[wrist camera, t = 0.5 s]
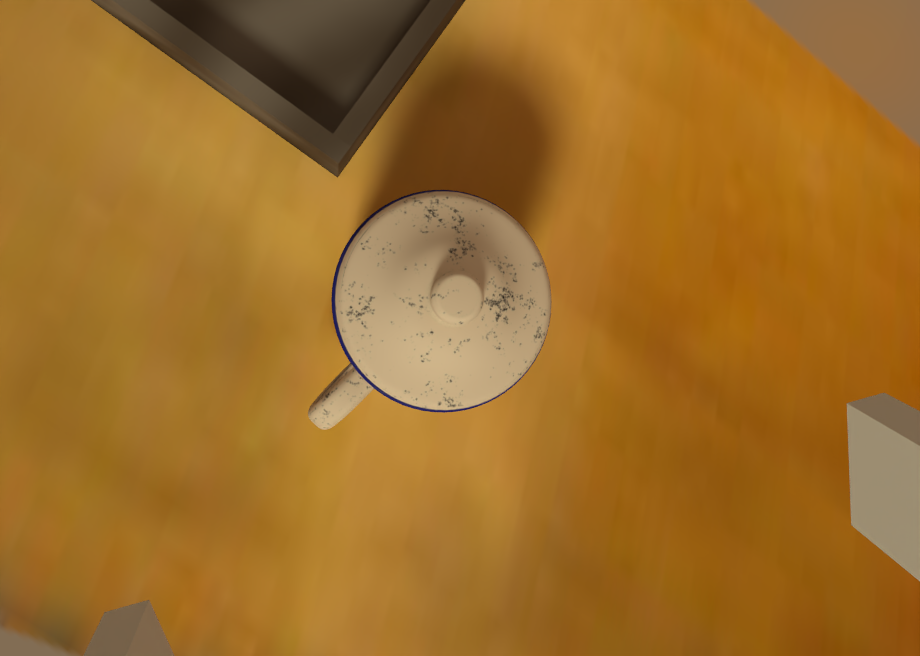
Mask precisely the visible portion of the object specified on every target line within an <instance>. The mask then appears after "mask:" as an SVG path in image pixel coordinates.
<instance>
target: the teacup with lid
mask: <svg viewBox="0 0 920 656" xmlns="http://www.w3.org/2000/svg"><path fill="white" fill-rule="evenodd" d="M332 313H333V320H334V325H335V329H336V333H337V336H338V338H339V341H340V344H341V346H342V348H343V350H344V352H345V354H346V356H347V358H348V359H349V361H350V364H349V365H348V366H347V367H346V368H345V369H344V370H343V371H342V372H341V373H340V374H339V375H338V376H337V377H336V378H335V379H334V380H333V381H332V382H331V383H330V384H329V385H328V386H327V387H326V388H325V390H324V391H323V392H322V393H321V394H320V395H319V396H318V397H317V399H316V400H315V401H314V402H313V404H312V405H311V406H310V408H309V411H308V416H309V418H310V420H311V421H312V422H313V423H314V424H315V425H316V426H317V427H319V428H320V429H329V428H331V427H333V426H335V425H336V424H337V423H338V422H340V421H341V420H342V419H343V418H344V417H345V416H346V415H348V414H349V413H350V412H351V411H352V410H353V409H354V408H355V407H356V406H357V405H358V404H359V403H360V402H361V401H362V400H363V399H364V398H365V397H366V396H367V395H368V394H369V393H370V392H371V391H372V390H373V389H376V390H377V391H378V392H380V393H381V394H383V395H384V396H386V397H388V398H389V399H391V400H393V401H395V402H398V403H400V404H402V405H405V406H408V407H411V408H414V409H418V410H423V411H430V412H456V411H462V410H467V409H471V408H474V407H477V406H480V405H483V404H485V403H487V402H489V401H491V400H493V399H495V398H497V397H499V396H500V395H502V394H503V393H505V392H506V391H507V390H509V389H510V388H511V387H513V386H514V385H515V384H516V383H517V382H518V381H519V380H520V379H521V378H522V377H523V376H524V375H525V373H526V372H527V371H528V370H529V368H530V367H531V365H532V364H533V363H534V361H535V359H536V358H537V356H538V354H539V352H540V350H541V348H542V346H543V343H544V340H545V337H546V335H547V331H548V327H549V322H550V315H551V289H550V282H549V277H548V273H547V270H546V267H545V264H544V261H543V258H542V256H541V254H540V252H539V250H538V248H537V246H536V245H535V243H534V241H533V240H532V238H531V237H530V235H529V234H528V233H527V232H526V230H525V229H524V228H523V227H522V226H521V225H520V224H519V223H518V222H517V221H516V220H515V219H514V218H513V217H512V216H511V215H510V214H508V213H507V212H506V211H504V210H503V209H501V208H500V207H498V206H497V205H495V204H493V203H491V202H489V201H487V200H485V199H483V198H480V197H478V196H475V195H471V194H468V193H464V192H459V191H451V190H431V191H422V192H418V193H413V194H410V195H407V196H404V197H401V198H399V199H396V200H394V201H392V202H390V203H388V204H387V205H385V206H383V207H382V208H380V209H379V210H377V211H376V212H375V213H373V214H372V215H371V216H370V217H369V218H367V219H366V220H365V221H364V222H363V223H362V224H361V226H360V227H359V228H358V229H357V230H356V231H355V233H354V234H353V235H352V237H351V238H350V240H349V242H348V243H347V245H346V246H345V248H344V250H343V253H342V255H341V257H340V259H339V262H338V265H337V268H336V272H335V276H334V281H333V287H332Z"/></svg>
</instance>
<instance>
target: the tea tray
mask: <svg viewBox="0 0 920 656" xmlns="http://www.w3.org/2000/svg"><path fill="white" fill-rule="evenodd" d="M91 1H93V2H94V3H96V4H97V5H98V6H100V7H101V8H103V9H104V10H105V11H107V12H108V13H110V14H111V15H112V16H114V17H115V18H116V19H118V20H119V21H121V22H122V23H123V24H125V25H126V26H128V27H129V28H130V29H132V30H133V31H135V32H136V33H137V34H139V35H140V36H142V37H143V38H144V39H146V40H147V41H148V42H150V43H151V44H153V45H154V46H155V47H157V48H158V49H160V50H161V51H162V52H164V53H165V54H167V55H168V56H169V57H171V58H172V59H174V60H175V61H176V62H178V63H179V64H180V65H182V66H183V67H185V68H186V69H187V70H189V71H190V72H192V73H193V74H194V75H196V76H197V77H199V78H200V79H201V80H203V81H204V82H206V83H207V84H208V85H210V86H211V87H212V88H214V89H215V90H217V91H218V92H219V93H221V94H222V95H224V96H225V97H226V98H228V99H229V100H231V101H232V102H233V103H235V104H236V105H238V106H239V107H240V108H242V109H243V110H244V111H246V112H247V113H249V114H250V115H251V116H253V117H254V118H256V119H257V120H258V121H260V122H261V123H263V124H264V125H265V126H267V127H268V128H270V129H271V130H272V131H274V132H275V133H276V134H278V135H279V136H281V137H282V138H283V139H285V140H286V141H288V142H289V143H290V144H292V145H293V146H295V147H296V148H297V149H299V150H300V151H302V152H303V153H304V154H306V155H307V156H308V157H310V158H311V159H313V160H314V161H315V162H317V163H318V164H320V165H321V166H322V167H324V168H325V169H327V170H328V171H329V172H331V173H332V174H334V175H335V176H336V177H338V176H339V175H340V173H341V172H342V171H343V169H344V168H345V166H346V165H347V164H348V162H349V161H350V159H351V158H352V157H353V155H354V154H355V153H356V151H357V150H358V148H359V147H360V146H361V144H362V143H363V141H364V140H365V139H366V137H367V136H368V135H369V133H370V132H371V130H372V129H373V128H374V126H375V125H376V123H377V122H378V121H379V119H380V118H381V117H382V115H383V114H384V112H385V111H386V110H387V108H388V107H389V105H390V104H391V103H392V101H393V100H394V99H395V97H396V96H397V94H398V93H399V92H400V90H401V89H402V87H403V86H404V85H405V83H406V82H407V81H408V79H409V78H410V76H411V75H412V74H413V72H414V71H415V69H416V68H417V67H418V65H419V64H420V63H421V61H422V60H423V58H424V57H425V56H426V54H427V53H428V51H429V50H430V49H431V47H432V46H433V45H434V43H435V42H436V40H437V39H438V38H439V36H440V35H441V33H442V32H443V31H444V29H445V28H446V27H447V25H448V24H449V22H450V21H451V20H452V18H453V17H454V15H455V14H456V13H457V11H458V10H459V9H460V7H461V6H462V4H463V3H464V2H465V0H91Z"/></svg>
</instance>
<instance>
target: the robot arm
mask: <svg viewBox="0 0 920 656" xmlns="http://www.w3.org/2000/svg"><path fill="white" fill-rule="evenodd" d="M847 420H848V446H849V472H850V499H851V525H852V526H853V527H855V528H856V529H857V530H858V531H859V532H861V533H862V534H863V535H864V536H865V537H867V538H868V539H869V540H870V541H872V542H873V543H874V544H875V545H876V546H878V547H879V548H880V549H881V550H882V551H884V552H885V553H886V554H887V555H889V556H890V557H891V558H892V559H893V560H895V561H896V562H897V563H898V564H899V565H901V566H902V567H903V568H904V569H906V570H907V571H908V572H909V573H910V574H912V575H913V576H914V577H915V578H917V579H918V580H919V581H920V411H918V410H916V409H914V408H912V407H910V406H908V405H907V404H905V403H903V402H901V401H899V400H897V399H895V398H893V397H891V396H889V395H888V394H886V393H882V394H878V395H875V396H871V397H868V398H864V399H860V400H857V401H853V402H850V403H847ZM84 656H174V654H173V652H172V650H171V647H170V645H169V643H168V641H167V639H166V636H165V634H164V632H163V630H162V628H161V625H160V623H159V621H158V619H157V617H156V614H155V612H154V610H153V608H152V606H151V603H150V601H149V600H147V601H143V602H140V603H136V604H133V605H129V606H126V607H122V608H119V609H115V610H111V611H108V612H105V613H104V615H103V617H102V619H101V621H100V623H99V625H98V627H97V629H96V631H95V633H94V635H93V637H92V639H91V641H90V643H89V646H88V648H87V650H86V652H85V654H84Z"/></svg>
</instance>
